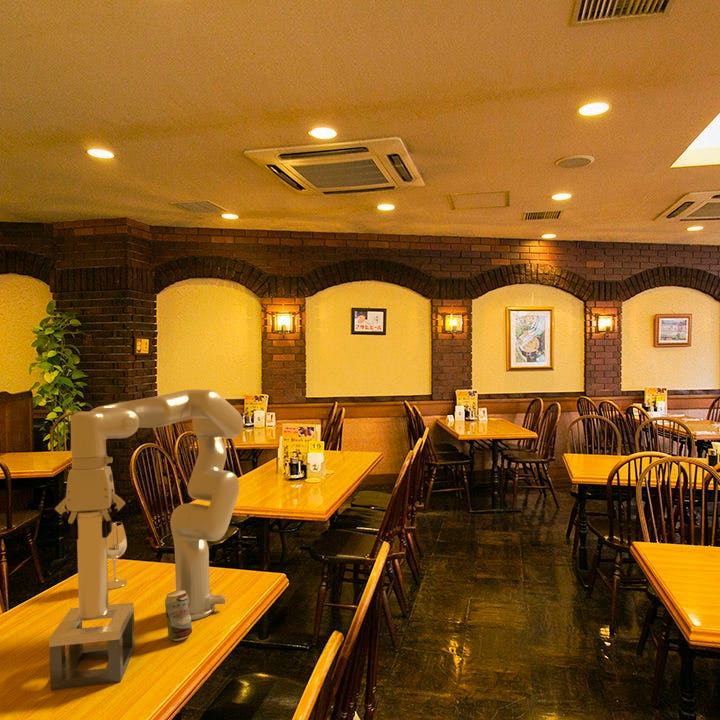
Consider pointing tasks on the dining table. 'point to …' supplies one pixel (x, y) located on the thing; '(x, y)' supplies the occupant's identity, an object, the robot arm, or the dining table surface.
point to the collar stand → (92, 648)
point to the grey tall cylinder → (92, 565)
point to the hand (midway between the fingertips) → (91, 536)
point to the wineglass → (116, 551)
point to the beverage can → (178, 615)
